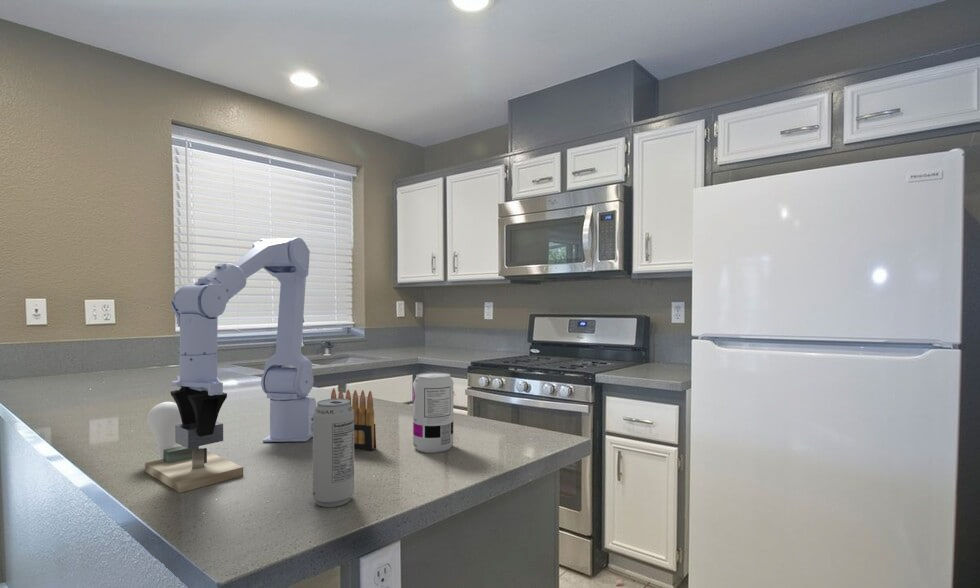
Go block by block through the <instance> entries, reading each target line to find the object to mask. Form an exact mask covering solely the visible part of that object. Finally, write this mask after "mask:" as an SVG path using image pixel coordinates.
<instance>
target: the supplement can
mask: <svg viewBox="0 0 980 588" xmlns="http://www.w3.org/2000/svg"><path fill="white" fill-rule="evenodd" d="M412 391H413V392H412V397H413V399H412V405H413V406H412V410H413V412H412V415H413V416H412V417H413V418H412V420H413V422H412V424H413V425H412V436H413V437H412V445H413V448H415V449H416V451H418V452H420V453H426V454H427V453H429V454H435V453H436V454H437V453H443V452H447V451H449V450H450V449H451V447H452V446H453V445H454V380H453V378H452V376H451V374H450V373H447V372H424V373H418V374H416V377H415V379H414V380H413V382H412Z"/></svg>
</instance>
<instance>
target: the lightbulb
mask: <svg viewBox="0 0 980 588" xmlns="http://www.w3.org/2000/svg"><path fill="white" fill-rule="evenodd" d="M146 421H147V426H148V427H149V429H150V431H151V432H152V433H153V435H154V438H155V442H156V447H157V455H158V458H160V459H163V450H165V449H169V448H174V447H175V445H176V444H177V443H175V425H179V424H182V421H181V416H180V413H179V409H178V406H177V404H176V402H173V401H164V402H159V403H158V404H156V405H155V406H153V407H152V408H151V410H150V411H149V412H148V413H147V418H146Z"/></svg>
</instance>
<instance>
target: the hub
mask: <svg viewBox="0 0 980 588" xmlns="http://www.w3.org/2000/svg"><path fill="white" fill-rule="evenodd" d="M219 442H220V443H221V442H224V423H222V422H219V421H218V420H217V421H216V425H215V428H214V432H213V434H211V435H206V436H201V437H200V436H199V435H198V432H197V427H196V422H190V423H185V424H179V425H175V443H176V444H178V445H180V446H184V447H186V448H193V447H198V446H199V447H200V446H207V445H212V444H214V443H215V444H216V443H219Z"/></svg>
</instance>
